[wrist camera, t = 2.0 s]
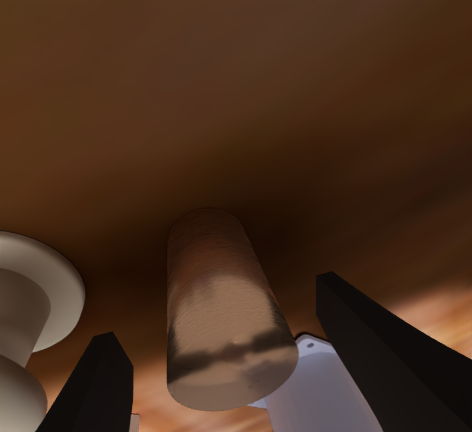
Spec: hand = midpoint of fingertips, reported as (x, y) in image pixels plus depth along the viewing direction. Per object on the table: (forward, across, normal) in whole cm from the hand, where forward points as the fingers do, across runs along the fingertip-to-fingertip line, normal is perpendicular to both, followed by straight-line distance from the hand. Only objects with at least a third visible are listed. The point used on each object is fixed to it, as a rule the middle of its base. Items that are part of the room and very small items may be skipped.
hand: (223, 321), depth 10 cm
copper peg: (+5, 0, 0) cm, 5 cm away
